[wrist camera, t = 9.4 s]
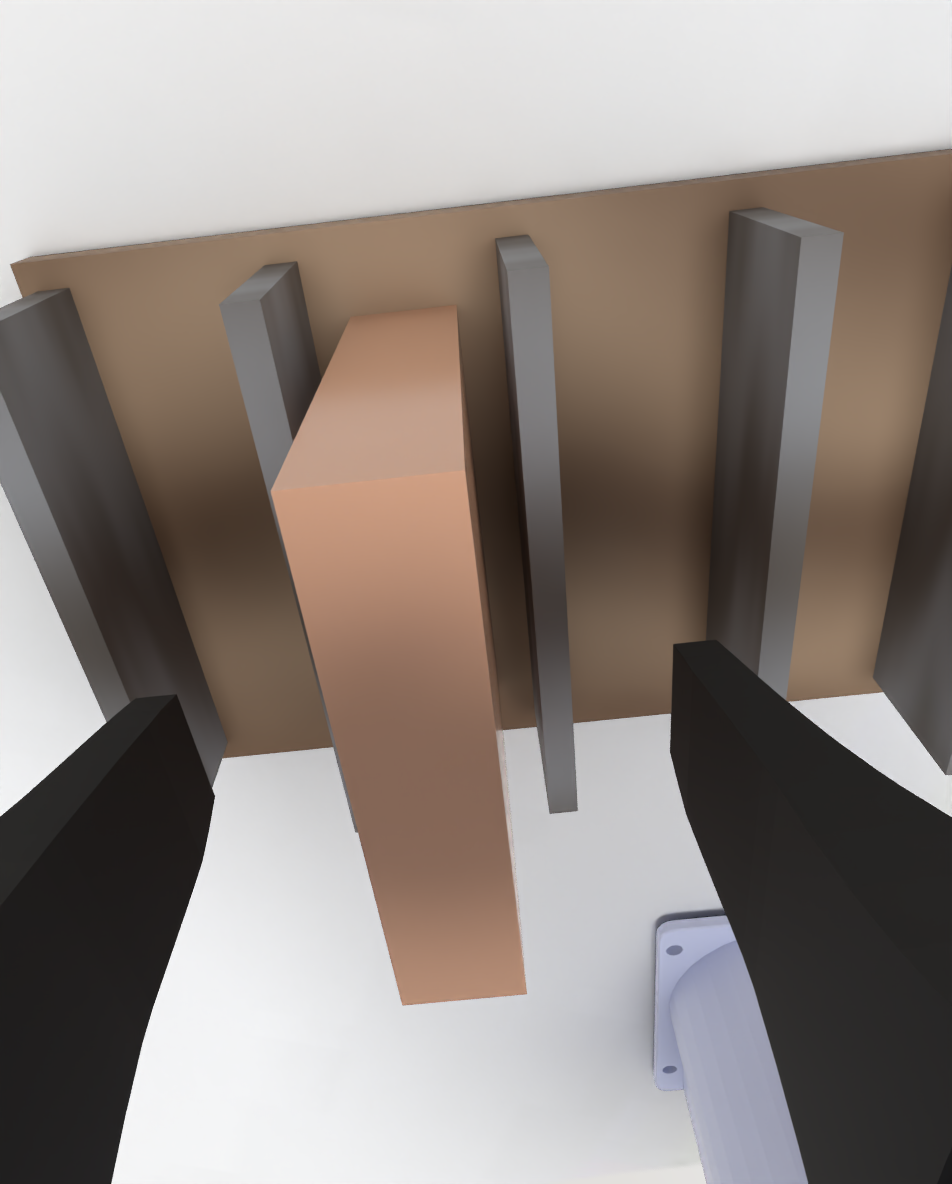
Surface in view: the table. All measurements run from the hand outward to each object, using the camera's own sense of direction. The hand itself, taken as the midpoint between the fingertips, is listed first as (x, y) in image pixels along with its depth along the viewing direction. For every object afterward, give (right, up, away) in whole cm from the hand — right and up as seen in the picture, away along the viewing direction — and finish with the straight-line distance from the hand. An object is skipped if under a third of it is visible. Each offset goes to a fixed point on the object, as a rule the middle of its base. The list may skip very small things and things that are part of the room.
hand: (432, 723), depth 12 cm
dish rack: (+2, +4, +6) cm, 8 cm away
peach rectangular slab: (0, +3, +6) cm, 7 cm away
